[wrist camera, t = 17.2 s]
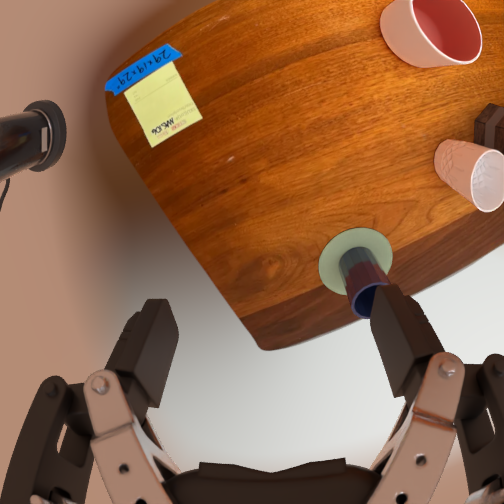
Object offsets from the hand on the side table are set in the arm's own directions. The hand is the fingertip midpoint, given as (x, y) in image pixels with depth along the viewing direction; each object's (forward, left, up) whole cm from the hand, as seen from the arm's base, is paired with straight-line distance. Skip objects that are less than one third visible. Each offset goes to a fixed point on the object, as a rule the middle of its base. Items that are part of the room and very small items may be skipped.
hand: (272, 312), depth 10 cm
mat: (+12, -16, -27) cm, 34 cm away
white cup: (+27, 0, -28) cm, 38 cm away
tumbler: (+12, -16, -27) cm, 34 cm away
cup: (+21, +18, -27) cm, 39 cm away
